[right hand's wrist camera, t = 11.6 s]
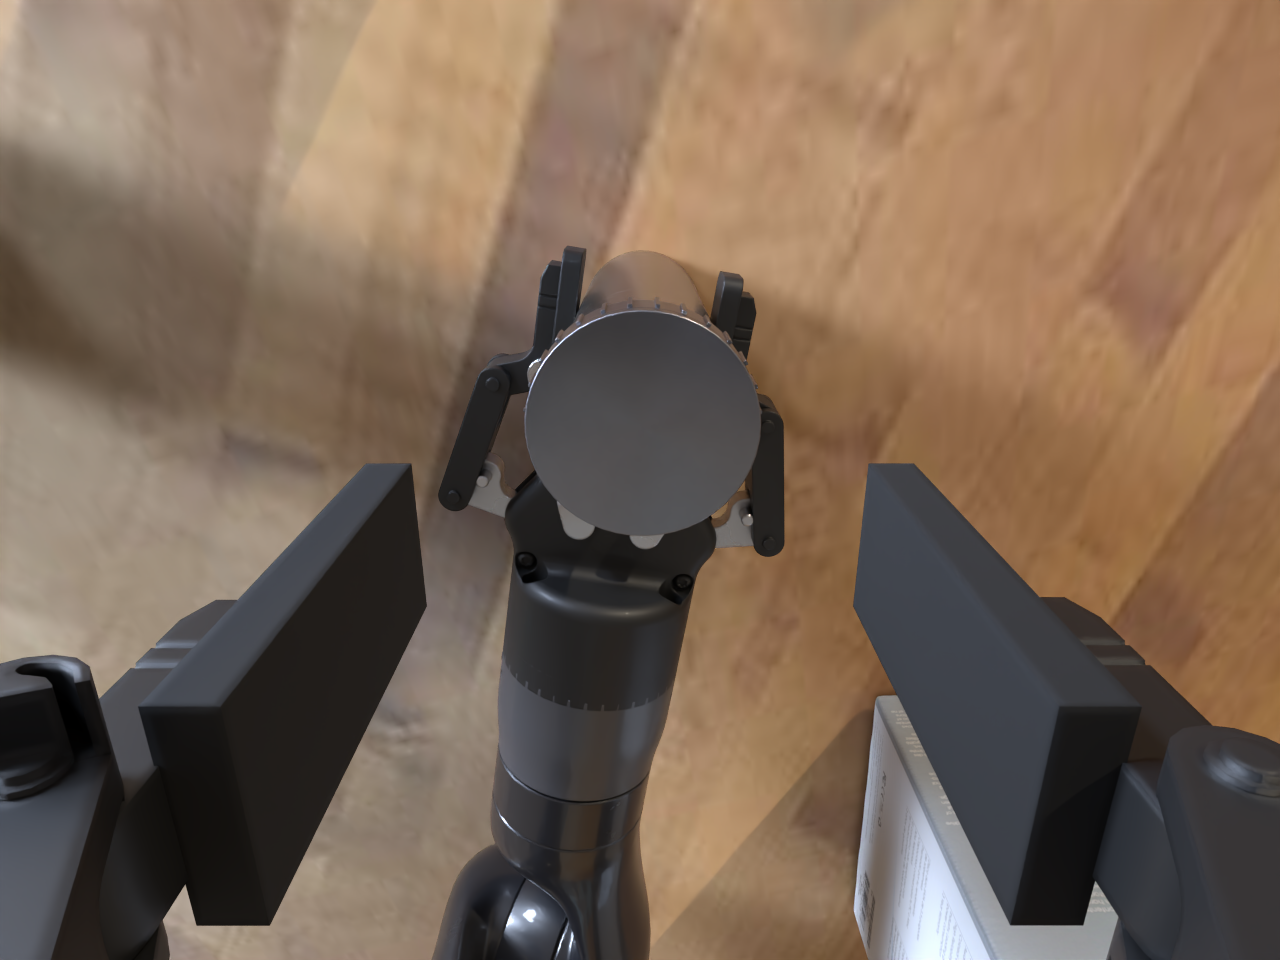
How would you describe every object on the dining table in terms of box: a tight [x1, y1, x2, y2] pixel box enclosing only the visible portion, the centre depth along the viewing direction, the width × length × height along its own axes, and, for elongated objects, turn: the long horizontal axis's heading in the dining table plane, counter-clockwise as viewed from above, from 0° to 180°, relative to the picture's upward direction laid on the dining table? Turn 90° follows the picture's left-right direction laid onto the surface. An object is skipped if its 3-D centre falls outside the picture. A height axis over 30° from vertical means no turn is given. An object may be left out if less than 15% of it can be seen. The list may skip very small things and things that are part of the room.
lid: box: [524, 297, 762, 536], centre depth 20 cm, size 6×6×2 cm
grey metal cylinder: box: [573, 250, 711, 323], centre depth 27 cm, size 5×5×17 cm
